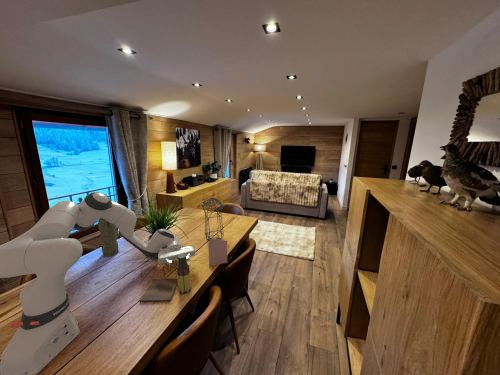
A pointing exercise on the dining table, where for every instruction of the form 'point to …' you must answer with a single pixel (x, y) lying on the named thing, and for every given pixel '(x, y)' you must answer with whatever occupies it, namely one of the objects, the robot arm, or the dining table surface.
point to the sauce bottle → (183, 275)
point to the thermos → (108, 238)
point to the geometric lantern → (212, 217)
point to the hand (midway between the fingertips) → (179, 261)
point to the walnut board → (160, 290)
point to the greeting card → (217, 251)
